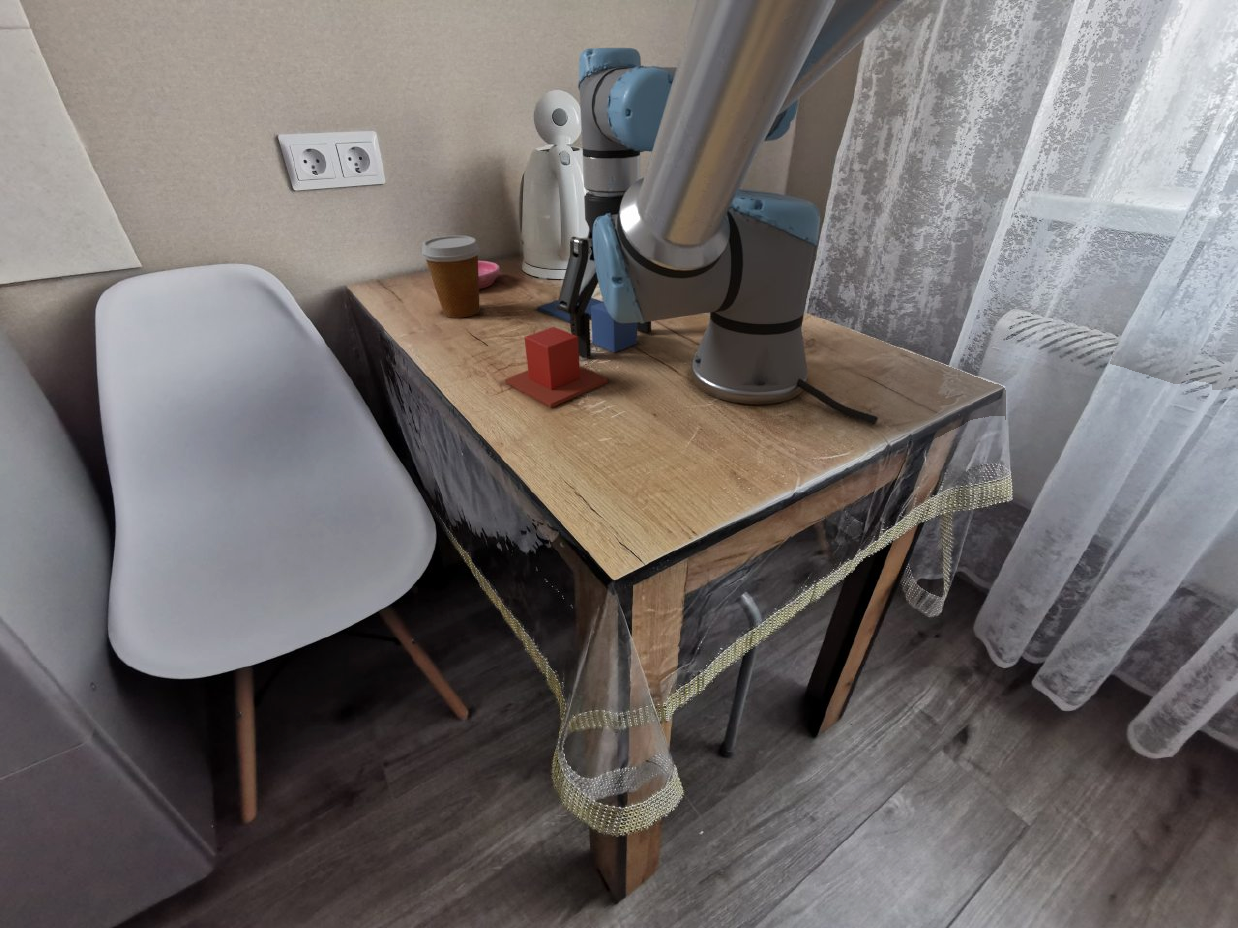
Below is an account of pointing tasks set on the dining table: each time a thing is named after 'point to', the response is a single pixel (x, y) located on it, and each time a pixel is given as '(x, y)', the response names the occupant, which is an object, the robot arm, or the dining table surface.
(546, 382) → the red block
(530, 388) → the red mat
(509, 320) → the dining table surface
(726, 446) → the dining table surface
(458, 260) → the disposable coffee cup
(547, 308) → the blue mat
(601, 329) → the blue block
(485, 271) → the pink bowl
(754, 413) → the dining table surface
